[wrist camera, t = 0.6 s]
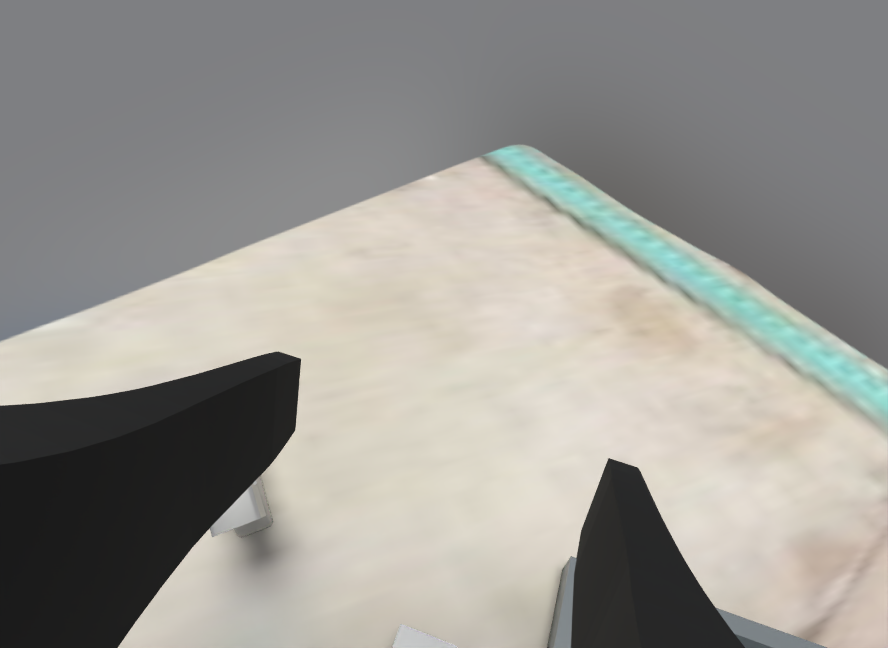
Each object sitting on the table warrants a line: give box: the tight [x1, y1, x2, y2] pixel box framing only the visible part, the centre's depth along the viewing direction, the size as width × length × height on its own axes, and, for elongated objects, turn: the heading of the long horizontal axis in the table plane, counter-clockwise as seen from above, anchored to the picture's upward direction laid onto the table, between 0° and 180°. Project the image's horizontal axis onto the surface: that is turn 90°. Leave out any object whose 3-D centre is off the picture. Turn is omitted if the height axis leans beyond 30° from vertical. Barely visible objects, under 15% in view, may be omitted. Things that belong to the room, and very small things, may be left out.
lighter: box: [210, 476, 273, 538], centre depth 25 cm, size 7×2×8 cm, turn 25°
